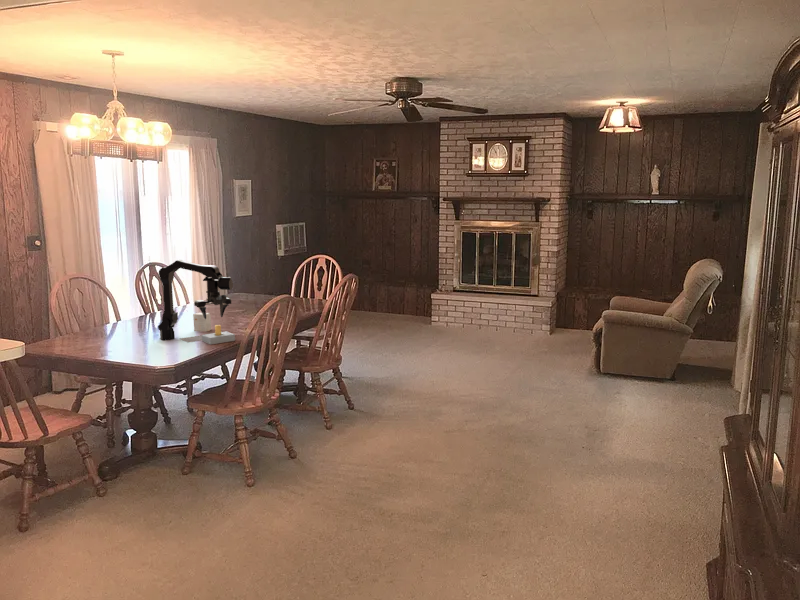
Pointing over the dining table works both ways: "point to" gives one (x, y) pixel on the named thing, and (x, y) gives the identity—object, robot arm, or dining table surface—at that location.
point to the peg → (217, 330)
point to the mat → (192, 338)
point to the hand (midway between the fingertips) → (213, 318)
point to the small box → (202, 322)
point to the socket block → (218, 338)
